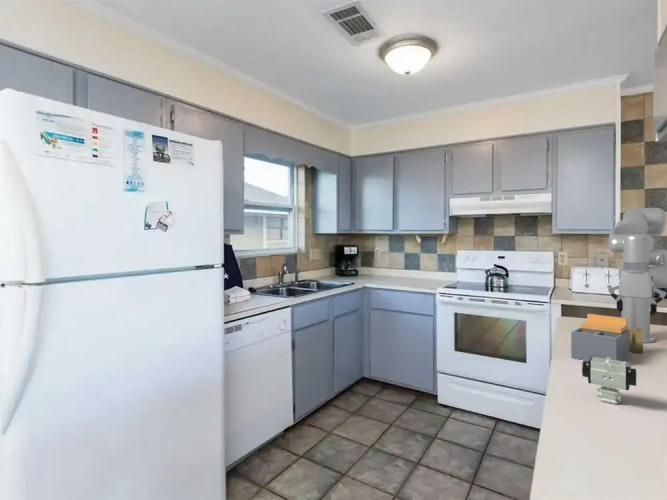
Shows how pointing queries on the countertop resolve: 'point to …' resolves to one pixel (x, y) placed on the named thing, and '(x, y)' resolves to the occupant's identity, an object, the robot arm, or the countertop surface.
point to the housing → (600, 344)
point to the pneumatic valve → (609, 377)
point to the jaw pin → (636, 340)
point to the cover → (605, 323)
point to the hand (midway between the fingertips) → (636, 312)
